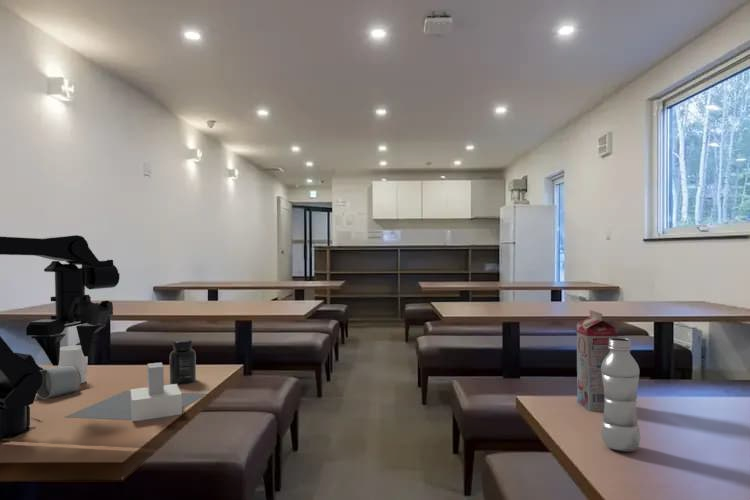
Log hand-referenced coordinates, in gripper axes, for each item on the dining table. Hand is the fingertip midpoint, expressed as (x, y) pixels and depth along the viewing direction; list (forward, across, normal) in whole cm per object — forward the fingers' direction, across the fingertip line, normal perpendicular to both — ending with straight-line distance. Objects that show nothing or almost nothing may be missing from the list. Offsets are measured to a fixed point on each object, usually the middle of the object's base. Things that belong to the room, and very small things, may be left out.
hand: (71, 360), depth 113 cm
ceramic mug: (+13, +15, +18) cm, 27 cm away
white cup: (+13, +27, +22) cm, 37 cm away
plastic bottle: (+13, -3, -115) cm, 116 cm away
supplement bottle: (+13, +30, -10) cm, 34 cm away
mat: (+13, +8, -11) cm, 19 cm away
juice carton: (+14, +23, -118) cm, 121 cm away
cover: (+12, +4, -18) cm, 22 cm away
